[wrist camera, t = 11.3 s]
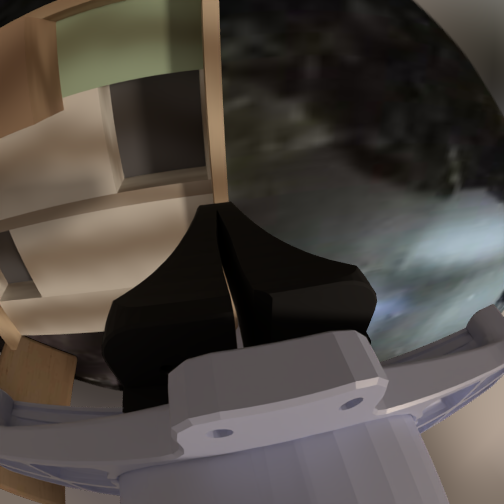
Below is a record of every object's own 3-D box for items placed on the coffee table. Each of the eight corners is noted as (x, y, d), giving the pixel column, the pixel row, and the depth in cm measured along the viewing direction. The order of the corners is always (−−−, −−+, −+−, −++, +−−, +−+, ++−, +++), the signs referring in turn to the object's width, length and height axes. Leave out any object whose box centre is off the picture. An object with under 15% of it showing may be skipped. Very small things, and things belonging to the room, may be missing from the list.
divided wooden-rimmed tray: (230, 293, 28) (238, 333, 24) (24, 315, 25) (11, 349, 21) (211, -11, 13) (218, -34, 9) (-59, 89, 9) (-95, 103, 6)
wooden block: (13, 364, 30) (-8, 485, 14) (9, 327, 26) (-25, 476, 10) (70, 386, 34) (63, 509, 19) (78, 355, 30) (65, 509, 14)
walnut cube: (64, 110, 13) (34, 124, 10) (-6, 136, 12) (-39, 157, 9) (55, 21, 10) (24, 15, 6) (-16, 57, 9) (-53, 64, 6)
